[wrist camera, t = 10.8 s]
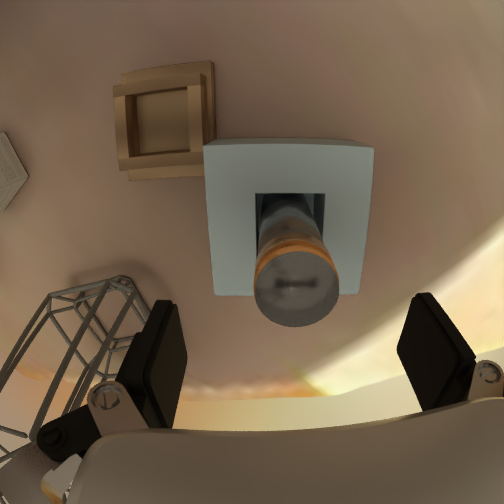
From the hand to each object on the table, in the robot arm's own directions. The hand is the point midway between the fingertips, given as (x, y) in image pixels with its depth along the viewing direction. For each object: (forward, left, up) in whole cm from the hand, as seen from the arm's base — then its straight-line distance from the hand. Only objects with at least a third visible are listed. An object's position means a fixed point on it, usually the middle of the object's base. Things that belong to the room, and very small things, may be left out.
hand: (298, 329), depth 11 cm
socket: (0, +1, -18) cm, 18 cm away
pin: (0, 0, -17) cm, 17 cm away
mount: (-8, -9, -18) cm, 22 cm away
